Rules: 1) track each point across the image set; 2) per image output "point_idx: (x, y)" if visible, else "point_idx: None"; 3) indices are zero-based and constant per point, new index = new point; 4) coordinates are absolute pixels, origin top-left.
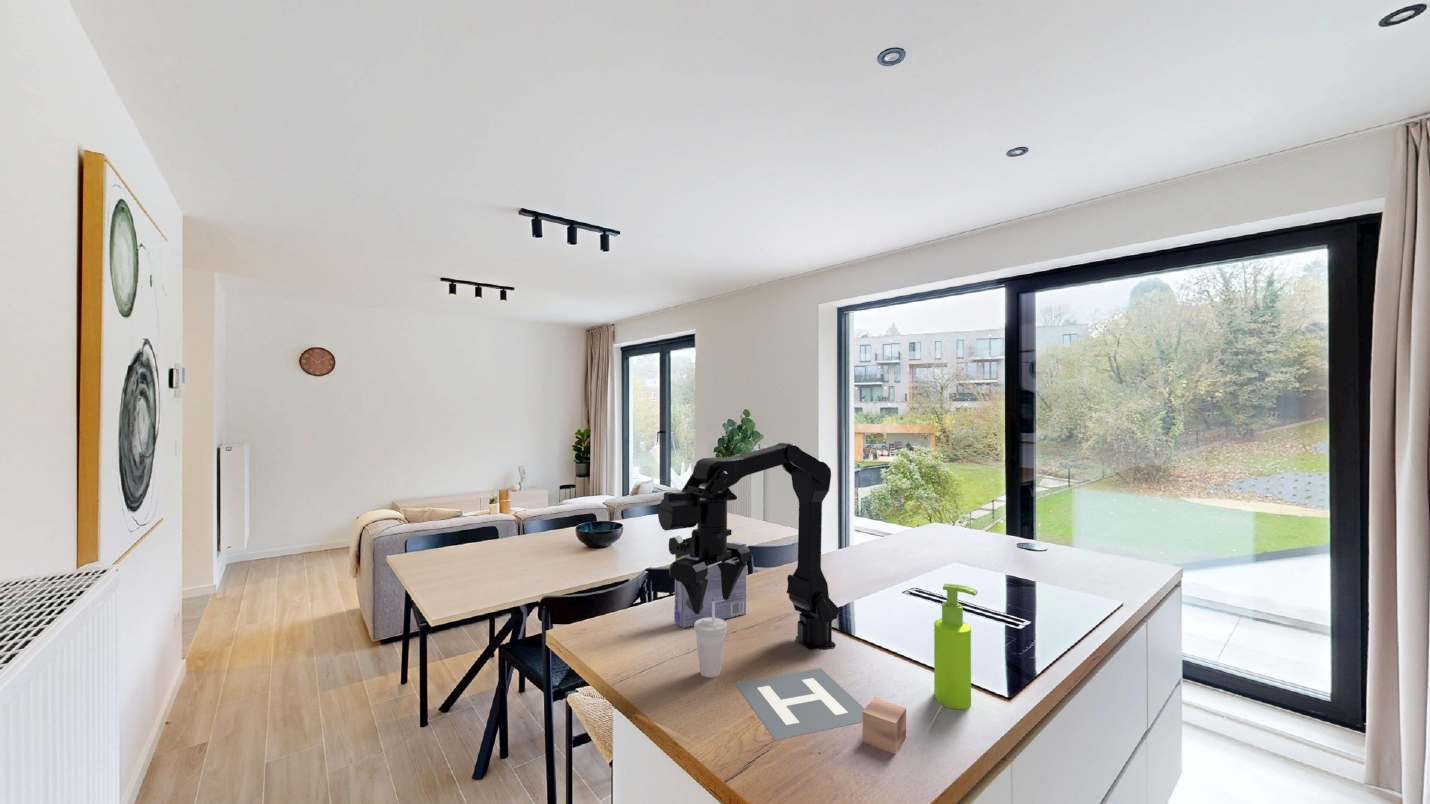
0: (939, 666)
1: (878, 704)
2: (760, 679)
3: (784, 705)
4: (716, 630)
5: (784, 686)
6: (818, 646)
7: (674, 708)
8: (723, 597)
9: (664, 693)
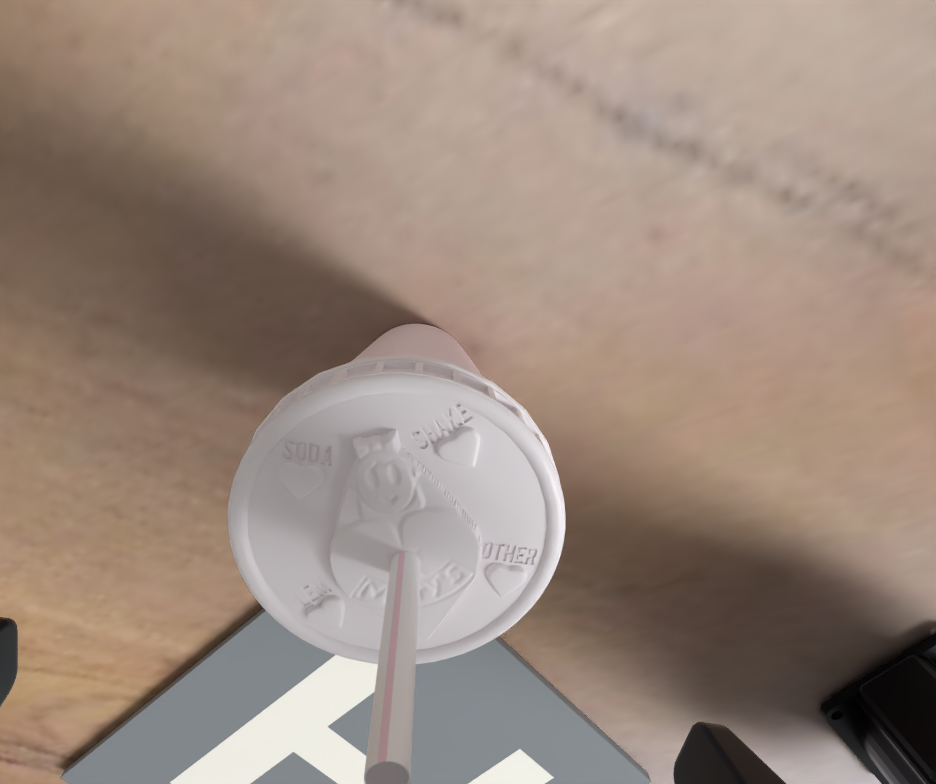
0: None
1: None
2: None
3: (294, 746)
4: (290, 629)
5: (437, 711)
6: (855, 740)
7: (15, 350)
8: (704, 745)
9: (104, 229)
